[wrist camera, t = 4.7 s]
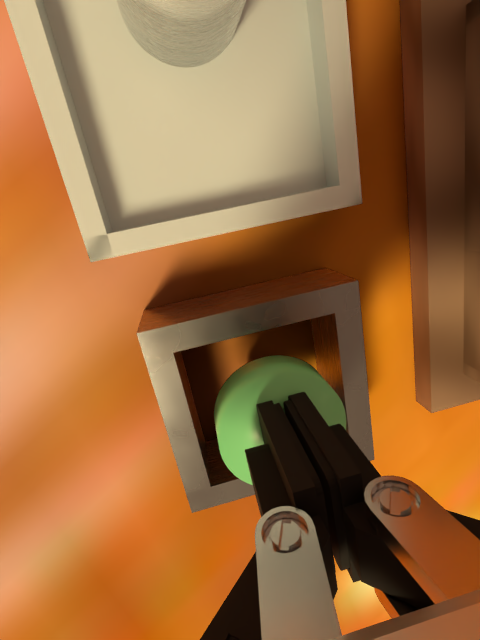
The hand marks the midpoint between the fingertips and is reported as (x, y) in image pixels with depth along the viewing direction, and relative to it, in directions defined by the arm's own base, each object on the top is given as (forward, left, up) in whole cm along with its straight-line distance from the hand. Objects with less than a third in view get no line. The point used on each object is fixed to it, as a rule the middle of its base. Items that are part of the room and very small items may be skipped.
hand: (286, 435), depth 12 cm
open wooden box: (0, 0, -5) cm, 5 cm away
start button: (0, 0, -4) cm, 4 cm away
